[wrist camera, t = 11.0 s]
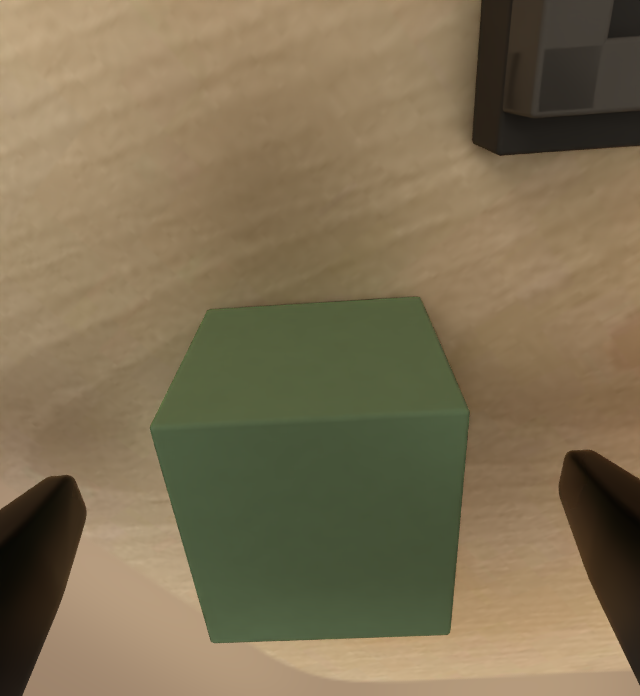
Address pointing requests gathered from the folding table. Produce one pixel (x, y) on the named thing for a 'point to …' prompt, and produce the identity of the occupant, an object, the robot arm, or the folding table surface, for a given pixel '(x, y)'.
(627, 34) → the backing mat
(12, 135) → the folding table surface
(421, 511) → the green block
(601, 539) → the robot arm
